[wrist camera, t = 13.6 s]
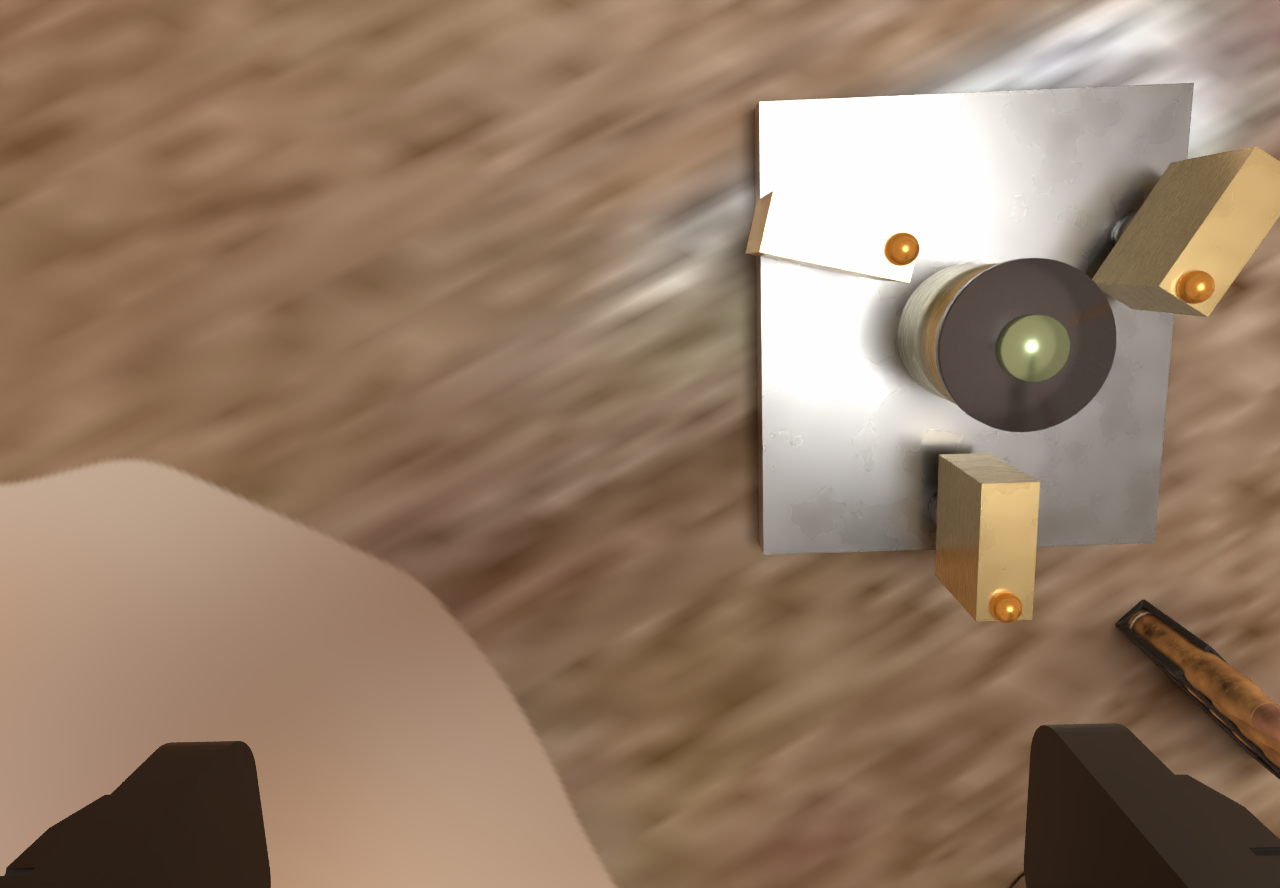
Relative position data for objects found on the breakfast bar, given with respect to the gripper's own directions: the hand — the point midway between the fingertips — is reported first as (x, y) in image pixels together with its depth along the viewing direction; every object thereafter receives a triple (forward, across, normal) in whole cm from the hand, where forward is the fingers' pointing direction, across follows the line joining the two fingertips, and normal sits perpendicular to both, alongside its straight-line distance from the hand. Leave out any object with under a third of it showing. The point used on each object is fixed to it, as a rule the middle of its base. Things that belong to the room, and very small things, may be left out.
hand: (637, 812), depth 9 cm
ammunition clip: (+33, -27, +16) cm, 46 cm away
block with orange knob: (+31, -14, +6) cm, 34 cm away
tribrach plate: (+33, -14, -2) cm, 36 cm away
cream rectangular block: (+31, -7, -6) cm, 32 cm away
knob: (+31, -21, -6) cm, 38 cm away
